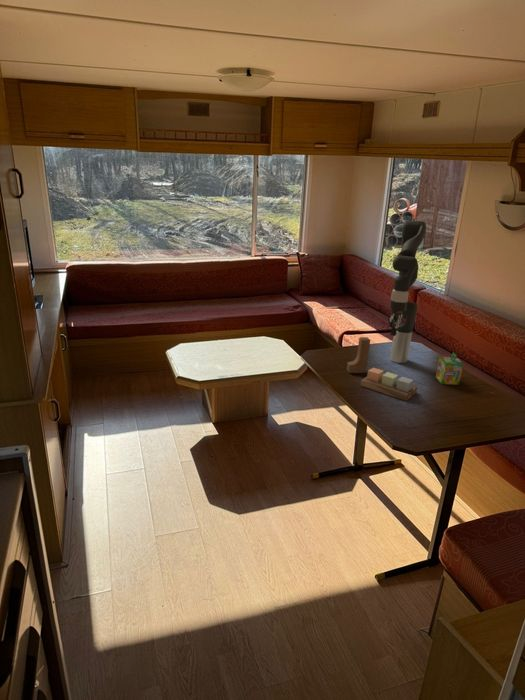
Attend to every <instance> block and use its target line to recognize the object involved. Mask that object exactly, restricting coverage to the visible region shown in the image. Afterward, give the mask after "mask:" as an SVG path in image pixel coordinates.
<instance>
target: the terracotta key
mask: <svg viewBox="0 0 525 700" xmlns="http://www.w3.org/2000/svg"><path fill="white" fill-rule="evenodd" d="M382 375H384V369H379V368H376V367H372V368H370V369H368V371H367V376H366V377H367V379H368V380H371V381H374V382H377V383H378V382H380V381H381V380H382Z"/></svg>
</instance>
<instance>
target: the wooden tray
mask: <svg viewBox="0 0 525 700" xmlns="http://www.w3.org/2000/svg"><path fill="white" fill-rule="evenodd" d="M381 382H382V380H381V381H380V382H378V383H377V382H374V381H371V380H368V379H367V376H365V377H364V378H362V379H361V380H360V386H361V387H364V388H366V389H369V390H373V391H376V392H379V393H381V394H384V395H387V396H391V397H393V398H397V399H399V400H401V401H404V402H407V401H408V400H410V399H411V398H412V397H413V396H414V395H416V394H417V392H418V386H416V385H413V386H412V390H411V391H409V392H405V391H402V390H399V389H396V386H397V385H396V386H394V387H389V386H386V385H383V384H381Z"/></svg>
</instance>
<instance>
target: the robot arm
mask: <svg viewBox="0 0 525 700" xmlns="http://www.w3.org/2000/svg"><path fill="white" fill-rule="evenodd" d="M401 229H402V230H401V249H400V252H398V253H397V254H396V255H395V256H394V259H393V261H392V269H393V270H394V271H397V272H398V276H395V277H394V280H393V287H392V291H391V293H390V294H391V296H390V301H389V309H390V310H391V313H390V317H389V318H388V319H387V320H388V325H389V328H391V330H390V331H391V332H390V336H393V338H392V345H391V349H390V350H391V351H390V357H389V360H390V361H392V362H393V363H396V364H397V363H398V364H406V363H408V360H409V359H408V358H409V353H410V346H411V342H412V335H413V330H414V328H415V327H414V326H415V321H416V317H417V315H418V314H417V312H418V304H417V303H416V302H413V301H409V300H408V299H409V290H410V288H411V287H412V286H413V285H414V284H415V282H416V281H417V279H418V275H419V274H418V273H419V263H418V259H417V257H416V256H417V253H418V249H419V247H420V246H421V244H422V242H423V241H424V239H425V236H426V234H427V233H426V232H427V224H426V222H425V221H423V220H408V219H407V220H405V221H404V222H403V224H402V228H401ZM403 319H404V320H405V322H403Z"/></svg>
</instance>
